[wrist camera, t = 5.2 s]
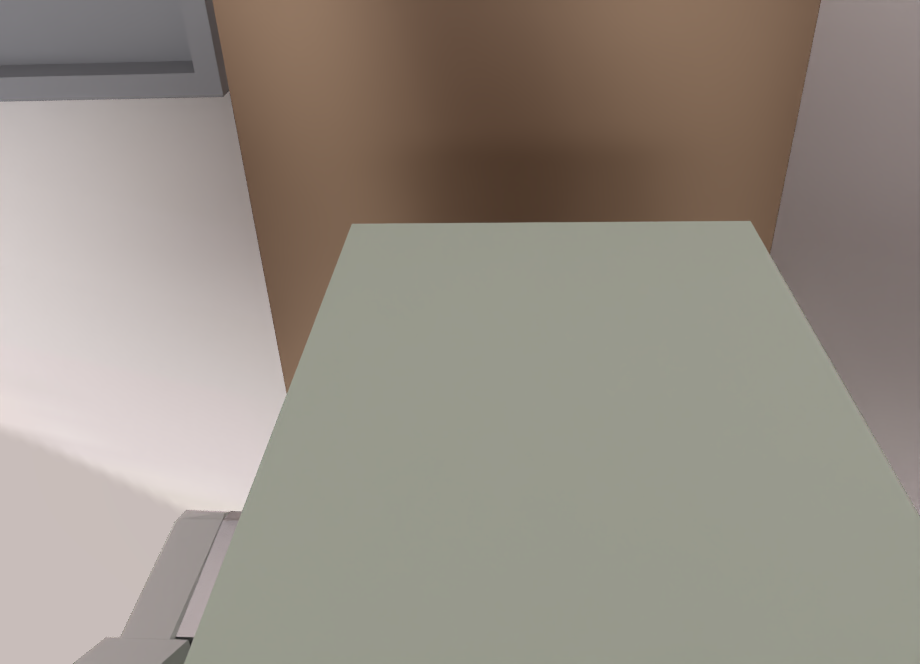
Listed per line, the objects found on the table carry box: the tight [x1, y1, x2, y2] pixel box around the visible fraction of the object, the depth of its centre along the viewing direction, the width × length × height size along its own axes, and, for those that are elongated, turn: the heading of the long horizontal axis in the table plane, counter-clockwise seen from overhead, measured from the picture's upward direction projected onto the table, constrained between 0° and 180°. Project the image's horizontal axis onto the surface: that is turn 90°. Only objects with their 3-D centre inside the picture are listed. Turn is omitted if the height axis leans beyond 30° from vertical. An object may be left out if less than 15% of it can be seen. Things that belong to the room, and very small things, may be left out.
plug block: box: [184, 221, 920, 664], centre depth 8 cm, size 5×5×8 cm
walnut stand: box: [212, 0, 821, 392], centre depth 17 cm, size 10×10×4 cm
